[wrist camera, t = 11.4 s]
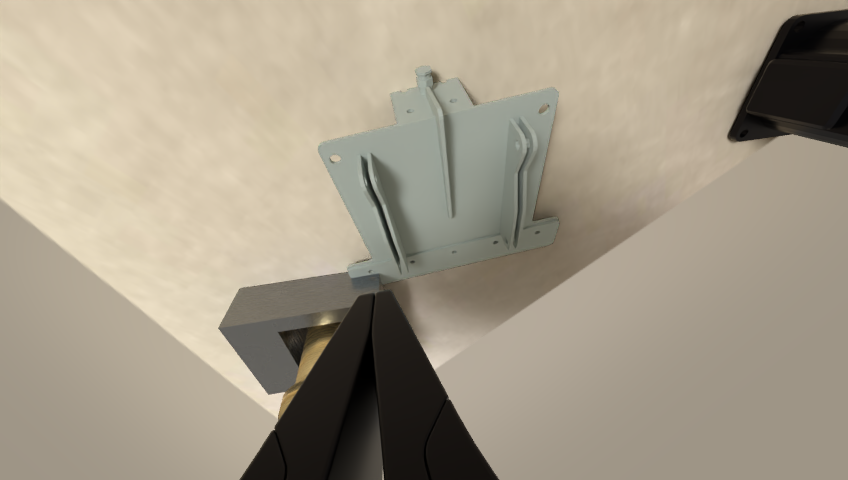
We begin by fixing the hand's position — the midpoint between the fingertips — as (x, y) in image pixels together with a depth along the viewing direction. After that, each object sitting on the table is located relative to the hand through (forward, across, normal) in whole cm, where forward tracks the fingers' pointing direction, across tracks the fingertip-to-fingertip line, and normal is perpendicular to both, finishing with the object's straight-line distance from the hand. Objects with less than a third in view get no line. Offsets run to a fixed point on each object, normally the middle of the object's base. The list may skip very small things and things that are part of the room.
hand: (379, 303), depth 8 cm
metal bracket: (+12, -3, +3) cm, 13 cm away
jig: (+11, +7, +12) cm, 18 cm away
